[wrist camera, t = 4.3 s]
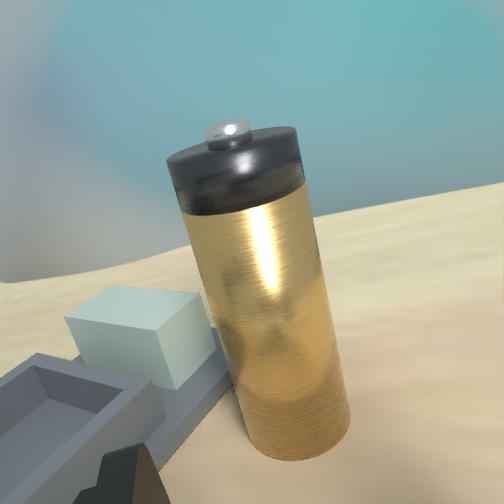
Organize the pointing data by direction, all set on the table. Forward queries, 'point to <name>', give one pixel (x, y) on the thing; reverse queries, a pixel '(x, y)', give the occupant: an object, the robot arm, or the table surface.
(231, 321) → the battery cell
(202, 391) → the tester dock
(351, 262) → the table surface
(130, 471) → the robot arm
